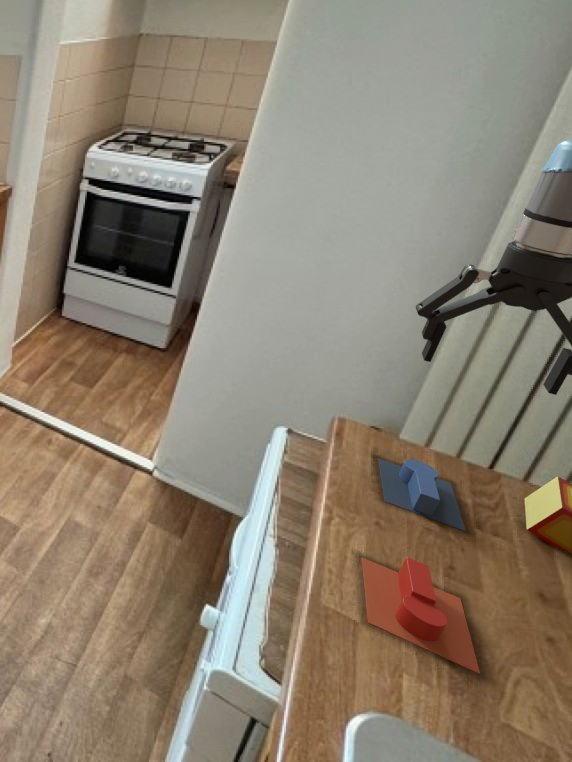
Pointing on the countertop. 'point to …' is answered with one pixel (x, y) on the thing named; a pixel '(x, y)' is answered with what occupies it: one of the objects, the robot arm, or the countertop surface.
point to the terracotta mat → (381, 613)
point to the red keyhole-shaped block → (419, 602)
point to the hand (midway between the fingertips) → (485, 373)
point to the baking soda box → (551, 513)
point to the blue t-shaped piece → (421, 485)
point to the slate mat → (400, 497)
